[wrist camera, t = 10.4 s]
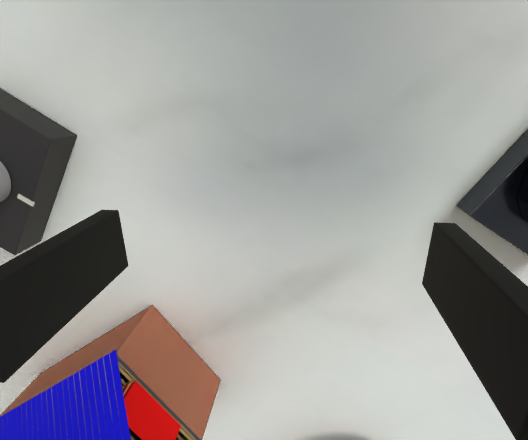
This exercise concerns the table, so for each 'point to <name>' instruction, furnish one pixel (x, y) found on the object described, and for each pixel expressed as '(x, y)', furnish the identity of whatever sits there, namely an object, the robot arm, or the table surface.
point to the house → (119, 389)
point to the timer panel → (29, 171)
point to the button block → (503, 196)
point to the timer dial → (4, 182)
